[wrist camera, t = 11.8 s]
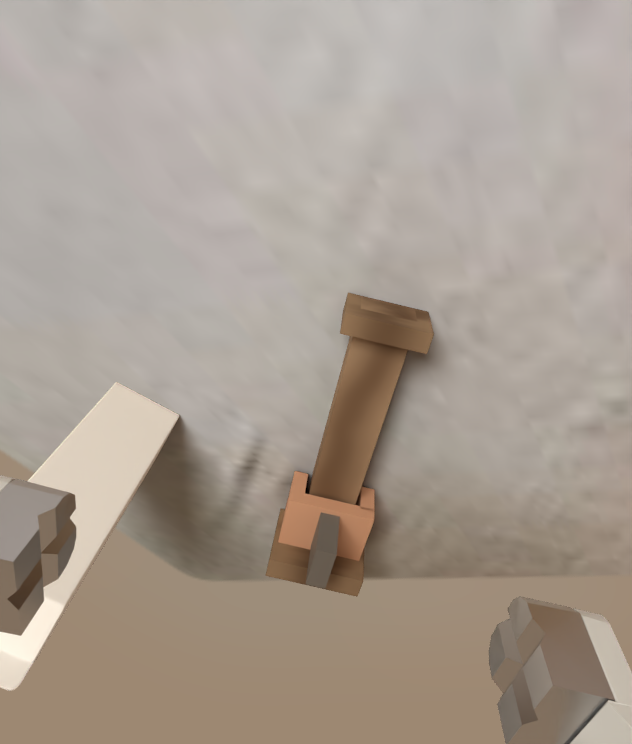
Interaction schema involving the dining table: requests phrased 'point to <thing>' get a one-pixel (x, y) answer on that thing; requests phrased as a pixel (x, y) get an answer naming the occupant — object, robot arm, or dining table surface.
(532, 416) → the dining table surface
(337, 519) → the slider
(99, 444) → the milk
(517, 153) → the dining table surface
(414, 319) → the rail
